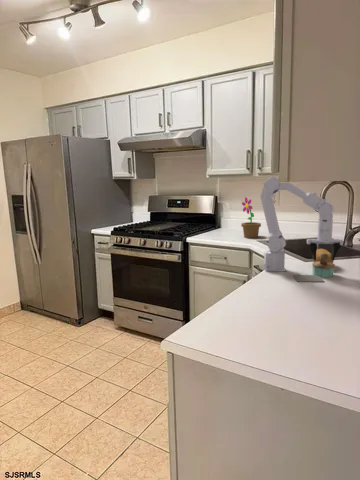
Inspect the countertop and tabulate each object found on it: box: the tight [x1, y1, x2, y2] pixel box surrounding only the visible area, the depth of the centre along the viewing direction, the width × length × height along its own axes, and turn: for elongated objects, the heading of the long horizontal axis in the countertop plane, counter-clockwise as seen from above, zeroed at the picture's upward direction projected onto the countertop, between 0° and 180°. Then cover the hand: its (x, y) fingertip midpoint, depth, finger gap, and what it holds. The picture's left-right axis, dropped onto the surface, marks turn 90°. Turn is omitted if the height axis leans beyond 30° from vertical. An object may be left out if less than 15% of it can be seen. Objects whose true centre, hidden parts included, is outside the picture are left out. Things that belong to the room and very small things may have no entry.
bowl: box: [312, 265, 335, 278], centre depth 146 cm, size 8×8×4 cm
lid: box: [312, 253, 336, 269], centre depth 144 cm, size 9×9×6 cm
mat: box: [292, 274, 325, 283], centre depth 140 cm, size 11×9×1 cm
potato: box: [312, 248, 335, 264], centre depth 158 cm, size 10×14×8 cm
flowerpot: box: [241, 196, 262, 239], centre depth 241 cm, size 14×14×30 cm
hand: (323, 259), depth 145 cm, fingers open, 7 cm apart
